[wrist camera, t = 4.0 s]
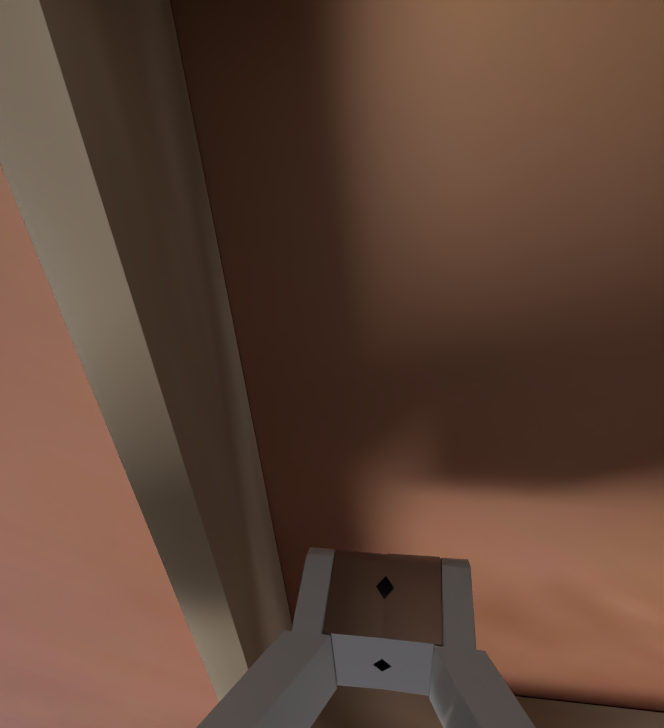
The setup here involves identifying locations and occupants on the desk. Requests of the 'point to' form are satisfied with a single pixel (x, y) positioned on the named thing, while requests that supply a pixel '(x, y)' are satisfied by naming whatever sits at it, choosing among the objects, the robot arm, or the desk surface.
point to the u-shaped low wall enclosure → (166, 324)
